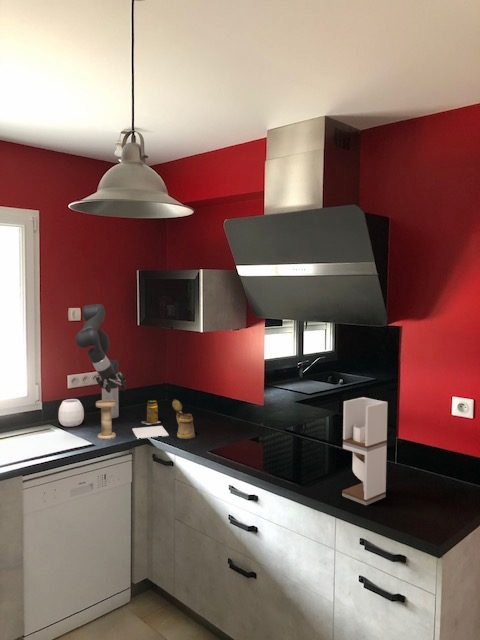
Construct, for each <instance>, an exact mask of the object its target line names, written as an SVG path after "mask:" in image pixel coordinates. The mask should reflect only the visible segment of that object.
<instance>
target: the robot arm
mask: <svg viewBox="0 0 480 640" xmlns="http://www.w3.org/2000/svg"><path fill="white" fill-rule="evenodd" d="M81 312H82V313H81V314H82V318H83V320H84V324H83V327H82V329H80V330H79V332H77V334H76V335H75V343H76V345H77V347H79V348H81V349H86V348H88V347H91V346H92V347H91V348H89V349H88V351H87V356H88V357H89V359H90V362H91V363H92V366H93V367H94V369H95V371H96V373H97V376H96V378H95V380H96V382H97V384H98V386H99V388H101V400H116V406H114V407H111V419H116V418H119V412H120V411H119V408H120V407H119V387H120V388H121V390H122V391H123V392H124V391H126V388H127V387H126V381H127V378H126V377H125V376H124V374H123V372H122V371H119V368H120V367H119V361H118V360H117V359H109V358H108V357H107V355H106V354H107V353H108V351H109V350H110V346H111V342H110V340H109V336H108V334H107V332H105V331H104V330H103V329H102V328H100V326H101V325H102V324H103V322H104V321H105V318H106V311H105V306H104V305H103V304H101V303H96V304H88V305H84V306H83V307H82V310H81Z"/></svg>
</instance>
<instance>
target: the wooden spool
mask: <svg viewBox="0 0 480 640" xmlns="http://www.w3.org/2000/svg"><path fill="white" fill-rule="evenodd" d="M114 406H116V400H102V399H101V400H97V401H96V402H95V407H96V408H100V415H101V416H100V419H101V421H100V423H101V424H100V426H101V432H100V433H98V434H97V438H99V439H98V440H112V439H115V438H116V436H117V434H116V432H113V431H112V430H113V428H112V425H113V424H112V418H111V407H114ZM111 438H112V439H111Z"/></svg>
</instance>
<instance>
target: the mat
mask: <svg viewBox="0 0 480 640" xmlns="http://www.w3.org/2000/svg"><path fill="white" fill-rule="evenodd" d="M131 429H132V432H133V434H134V435H135V437H137V438H136V439H137V440H140V439H139V438H141V439H149V438H151V437H152V438H159V437H158V436H162V437H168V436H170V434H169V433H168V432H167V430H166V429H165V428H164V427H163V425H156V426H144V427H143V426H142V427H134V428H131Z"/></svg>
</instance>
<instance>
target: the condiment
mask: <svg viewBox="0 0 480 640" xmlns="http://www.w3.org/2000/svg"><path fill="white" fill-rule="evenodd" d="M146 405H147V406H146V420H145V421H141V424H143V425H144V424H145V425H153V424H159V423H160V421H159V420H158V419H159V417H158V415H159V413H158V412H159V411H158V408H159V407H158V401H157V400H155V399H154V400H153V399H152V400H148V401H147V404H146Z"/></svg>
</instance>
